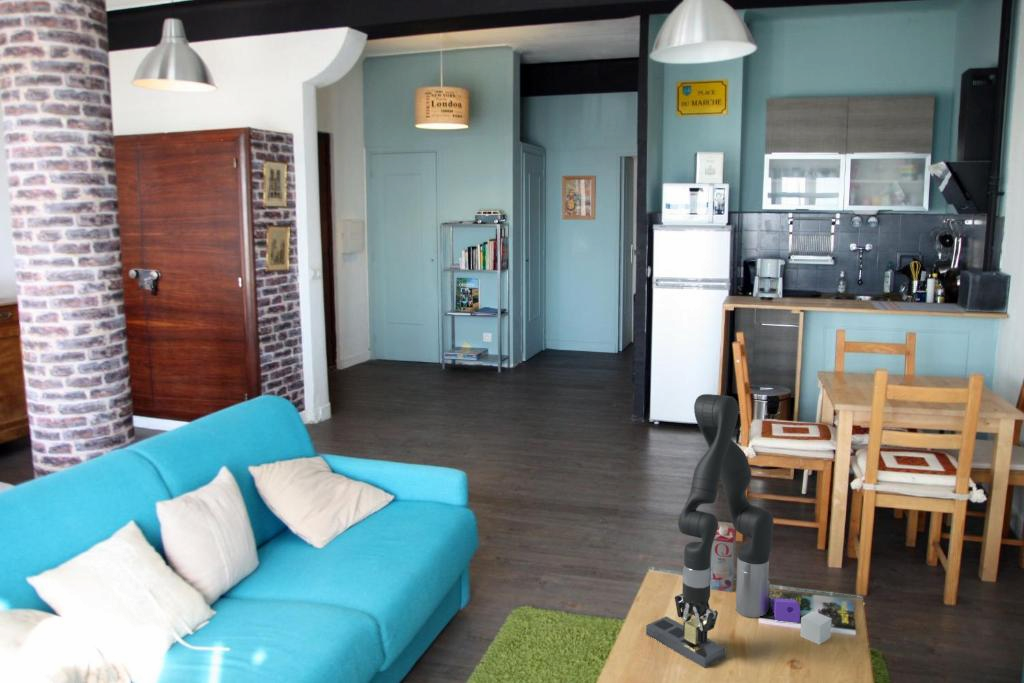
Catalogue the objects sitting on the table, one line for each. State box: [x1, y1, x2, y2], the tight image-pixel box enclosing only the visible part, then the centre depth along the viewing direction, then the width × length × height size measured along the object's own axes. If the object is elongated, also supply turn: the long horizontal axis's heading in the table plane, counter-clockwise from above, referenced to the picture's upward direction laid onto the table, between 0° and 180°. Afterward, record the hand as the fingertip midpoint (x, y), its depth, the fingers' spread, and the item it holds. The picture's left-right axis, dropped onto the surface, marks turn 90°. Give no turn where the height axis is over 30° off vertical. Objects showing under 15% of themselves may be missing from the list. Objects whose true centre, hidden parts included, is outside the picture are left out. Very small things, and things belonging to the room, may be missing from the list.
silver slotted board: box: [645, 615, 726, 669], centre depth 240 cm, size 8×22×3 cm, turn 37°
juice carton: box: [710, 521, 737, 593], centre depth 274 cm, size 7×7×22 cm
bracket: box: [769, 597, 801, 623], centre depth 257 cm, size 12×7×7 cm, turn 170°
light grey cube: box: [800, 610, 833, 645], centre depth 243 cm, size 6×6×6 cm
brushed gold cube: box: [684, 617, 704, 646], centre depth 236 cm, size 4×5×5 cm
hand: (695, 637), depth 236 cm, fingers closed on brushed gold cube, 4 cm apart
